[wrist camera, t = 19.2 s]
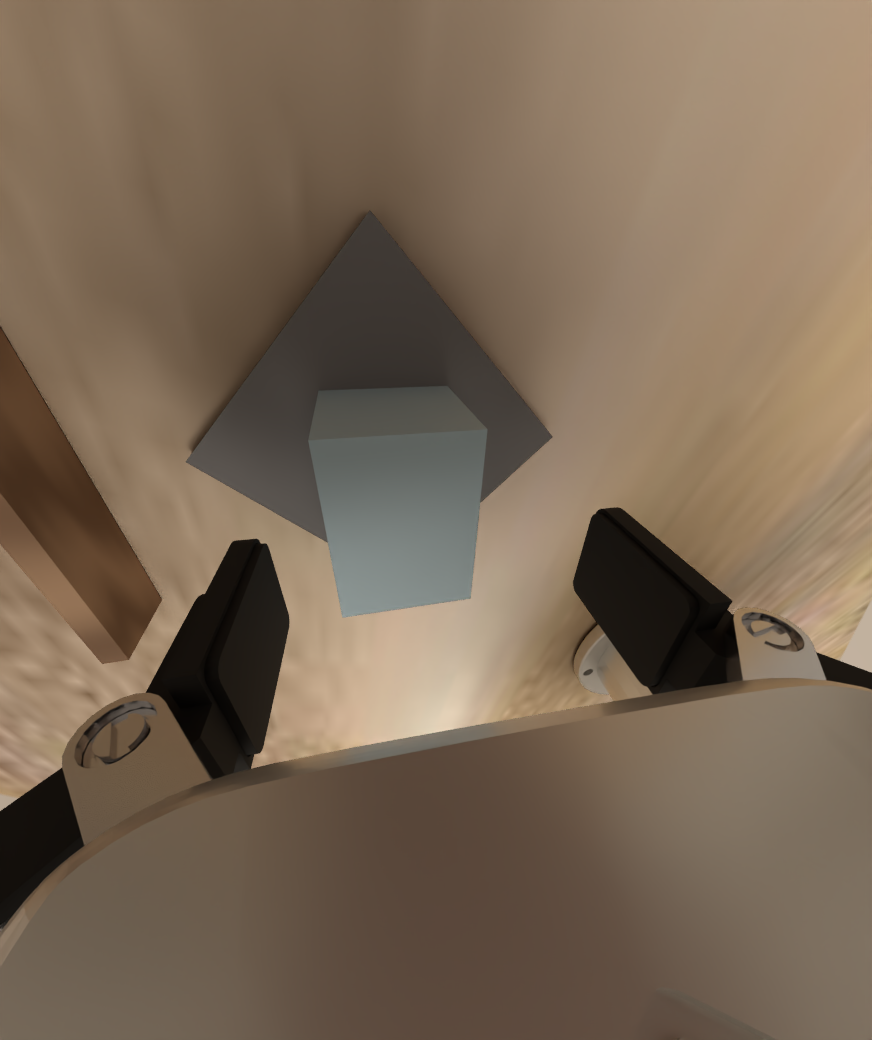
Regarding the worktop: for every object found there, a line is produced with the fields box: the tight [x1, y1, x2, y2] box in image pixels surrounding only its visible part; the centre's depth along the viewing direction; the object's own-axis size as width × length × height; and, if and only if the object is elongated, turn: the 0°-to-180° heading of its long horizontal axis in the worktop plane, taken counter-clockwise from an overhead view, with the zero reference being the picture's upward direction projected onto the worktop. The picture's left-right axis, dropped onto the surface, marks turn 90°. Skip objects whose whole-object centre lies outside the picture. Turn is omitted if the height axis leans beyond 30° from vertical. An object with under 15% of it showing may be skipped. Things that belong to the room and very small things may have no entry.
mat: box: [186, 211, 552, 542], centre depth 16 cm, size 11×11×1 cm
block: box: [308, 386, 488, 617], centre depth 14 cm, size 7×5×5 cm
